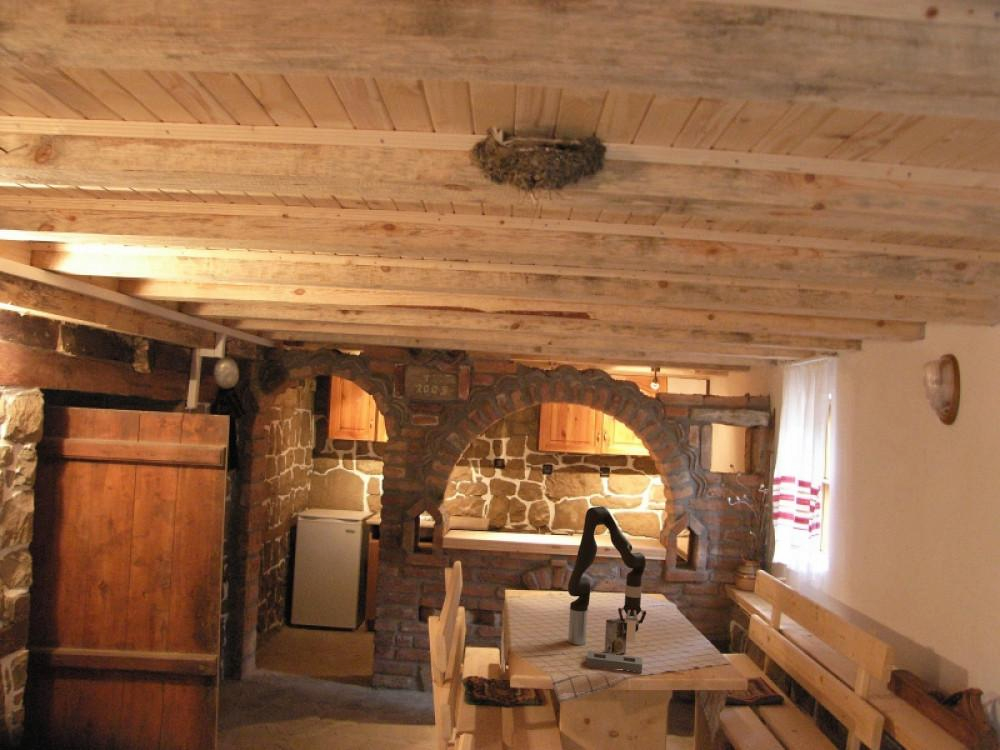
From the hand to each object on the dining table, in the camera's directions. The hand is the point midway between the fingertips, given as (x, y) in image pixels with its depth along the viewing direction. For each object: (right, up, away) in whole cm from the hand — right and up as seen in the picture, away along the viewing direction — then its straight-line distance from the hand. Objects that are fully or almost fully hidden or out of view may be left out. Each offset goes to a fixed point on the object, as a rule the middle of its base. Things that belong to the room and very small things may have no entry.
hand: (630, 630), depth 364 cm
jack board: (-8, -17, +1) cm, 19 cm away
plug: (0, -5, 0) cm, 5 cm away
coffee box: (-4, -18, +21) cm, 28 cm away
